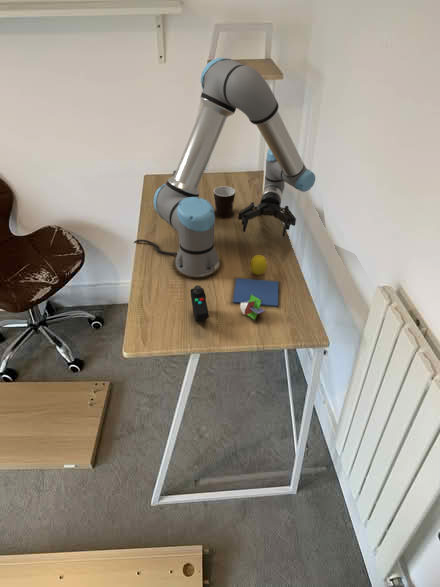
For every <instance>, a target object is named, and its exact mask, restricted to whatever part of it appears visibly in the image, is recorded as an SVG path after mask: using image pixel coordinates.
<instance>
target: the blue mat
mask: <svg viewBox="0 0 440 587" xmlns="http://www.w3.org/2000/svg"><path fill="white" fill-rule="evenodd" d="M234 284H235V285H234V291H233V297H232V298H233V300H232V304H239V305H240V303H242V302H246V301H249V298H250V295H251V294H252V295H253V296H255V297H257V298H258V299H262V302H261V305H260V307H262V306H263V305H264V306H263V307H275V308H278V307H279V281H278V280H277V281H276V280H264V279H252V278H251V279H250V278H238V277H236V278H235V283H234ZM243 300H244V301H243Z"/></svg>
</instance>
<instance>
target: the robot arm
mask: <svg viewBox="0 0 440 587" xmlns="http://www.w3.org/2000/svg"><path fill="white" fill-rule="evenodd" d="M200 83H201V89H202V91H201V95H200V97H199V98H200V101H201V107H200V110H199V112H198V115H197V118H196V120H195V123H194V125H193V127H192V130H191V132H190V135H189V138H188V140H187V143H186V144H185V148H184V150H183V153H182V155H181V157H180V160H179V163H178V165H177V168H176V170H175V171H176V172H175V175H174V176H173V175H172V176H171V177H169V178H167V180H166V182H165V183H163V184H162V185H161V186H159V187H158V188H157V190H156V191H155V193H154V194H153V195H154V196H153V207H154V209H155V212H156V213H157V214H158V216H159V217H160V219H162V220H163V221H165V222H166V223H167V224H168V225H169V226H170V227H172V228H173V229H174V230H175V231H176V232H177V234H178V244H179V246H178V250H177V252H175V251H174V252H172V251H171V252H170V251H164V250H161V249H159V248H158V245H157V244H156V243H154V242H152V241H150V240H147V239H142V238H141V239H136V240H134V241H133V244H136V243H141V242H143V243H147V244H149V245H151V246H154V249H155V251H156V252H157V253H160V254H165V255H172V256H175V259H174V266H175V270H176V271H177V273H179V275H181V276H183V277H185V278H188V279H192V280H193V279H196V280H199V279H206V278H209V277H212V276H213V275H215V274H216V273H217V272H218V271H219V269H220V264H221V263H220V262H221V261H220V257H219V255H218V252H217V248H216V247H215V222H216V215H215V209H214V206H213V204H212V203H211V202H209V200H206V199H205V198H202V197H201V198H200V194H201V192H200V189H199V185H200V183H201V180H202V178H203V176H204V173H205V170H206V168H207V166H208V163H209V161H210V160H211V156H212V154H213V152H214V149H215V147H216V145H217V142H218V139H219V138H220V135H221V133H222V130H223V128H224V126H225V123H226V121H227V119H228V118H229V117H230V116H232V115H235V112H236V110H239V111H241V112H242V114H244V115H245V116H246V117H247V118H248V120H249V122H250V123H251V124H252V125H256V127H257V130H259V132H260V135H261V136H262V138H263V140H264V141H265V143H266V145H267V147H268V148H269V149H268V150H267V151H266V152H267V153H266V159H265V175H264V186H263V191H262V195H261V198H260V202H259V204H255V202H254V201H252V202H250V204H249V205H248V206H246V207H244V208H243V209H242V210H240V211H239V212H238V213H237V215H238V217H237V220H238V221H241V223H240V224H241V226H242V233H245V232H246V231H247V227H248V224H249V223H248V222H249V220H252V219H254V218H257V217H262V216H269V217H273V218H275V219H278V220H279V221H281V223H283V229H282V237H286V231H289V230H290V228H291V226H294V227H295V226H296V222H297V218H296V217H295V215H294V214H293V213H292V211H291V210H290V209H289V206H288V205H284V207H282V206H281V204H282V199H283V194H284V190H285V184H288V185H289V186H291V187H292V188H294V189H295V190H298V191H300V192H303V193H305V192H308V191H309V190H311V189H312V188H313V186H314V185H315V183H316V174H315V173H314V172H313V171H312V170H311V169H308V168H307V167H306V165H305V163H304V162H303V159H302V157H301V155H300V153H299V151H298V149H297V147H296V145H295V143H294V141H293V139H292V137H291V135H290V133H289V131H288V128H287V126H286V125H285V122H284V121H283V118H282V116H281V115H280V112H279V108H280V106H279V103H278V101H277V99H276V96H275V94H274V93H273V91H272V89H271V87H270V86H269V84H268V82H267V81H266V80H265V78H264V76H262V74H261V73H260V72H259V71H258V70H257V69H256V68H254V67H252V66H250V65H246V64H243V63H241V62H239V61H236V60H234V59H231V58H228V57H227V58H225V57H216V58H214V59H212V60H210V61H209V62H208V63H206V65H205V66H204V68H203V70H202V72H201V76H200Z"/></svg>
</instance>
